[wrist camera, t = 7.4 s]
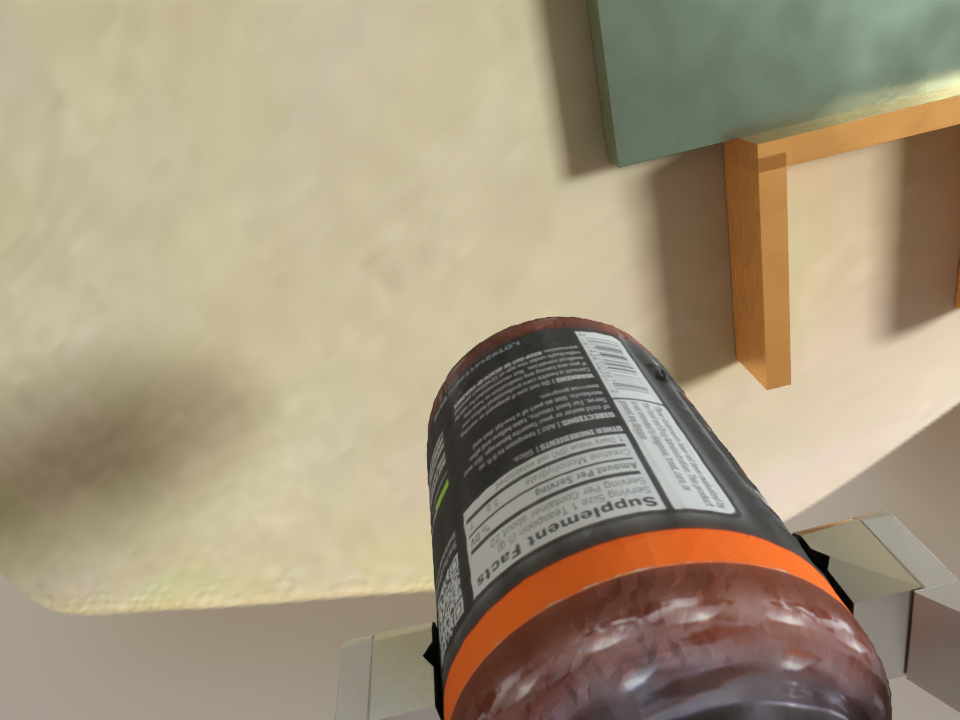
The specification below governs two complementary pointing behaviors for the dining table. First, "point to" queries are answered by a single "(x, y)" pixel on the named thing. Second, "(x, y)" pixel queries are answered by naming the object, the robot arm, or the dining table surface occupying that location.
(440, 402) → the supplement bottle
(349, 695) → the robot arm
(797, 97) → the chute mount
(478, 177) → the dining table surface
